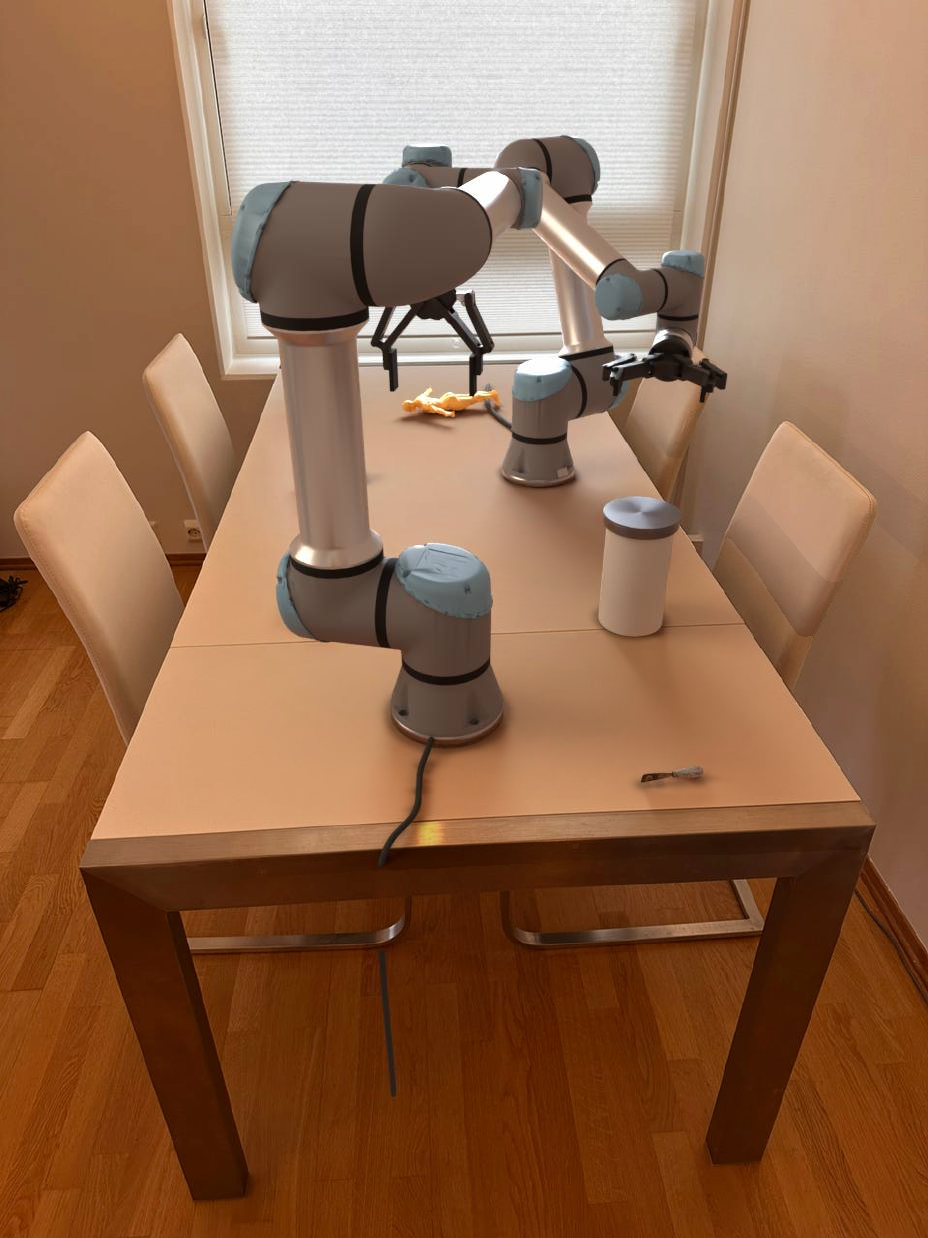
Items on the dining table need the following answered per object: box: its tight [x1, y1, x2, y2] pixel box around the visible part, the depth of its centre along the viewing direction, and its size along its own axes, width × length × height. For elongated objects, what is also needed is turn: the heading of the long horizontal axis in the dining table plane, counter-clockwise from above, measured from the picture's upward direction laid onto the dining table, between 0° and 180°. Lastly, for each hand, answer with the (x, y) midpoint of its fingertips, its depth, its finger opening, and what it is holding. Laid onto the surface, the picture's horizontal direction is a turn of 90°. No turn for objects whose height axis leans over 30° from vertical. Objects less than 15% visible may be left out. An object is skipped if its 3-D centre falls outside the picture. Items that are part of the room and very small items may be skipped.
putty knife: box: [640, 765, 705, 784], centre depth 109 cm, size 1×8×2 cm, turn 103°
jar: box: [597, 527, 675, 638], centre depth 136 cm, size 10×10×18 cm
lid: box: [602, 496, 682, 540], centre depth 131 cm, size 11×11×2 cm
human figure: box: [402, 385, 500, 418], centre depth 225 cm, size 20×20×4 cm
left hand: (433, 391), depth 149 cm, fingers open, 13 cm apart
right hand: (658, 390), depth 141 cm, fingers open, 13 cm apart
